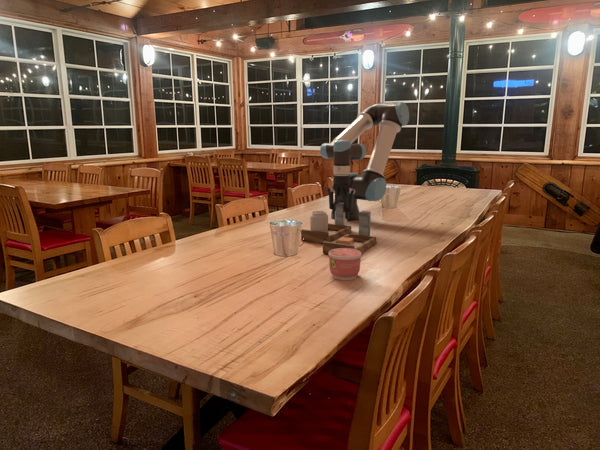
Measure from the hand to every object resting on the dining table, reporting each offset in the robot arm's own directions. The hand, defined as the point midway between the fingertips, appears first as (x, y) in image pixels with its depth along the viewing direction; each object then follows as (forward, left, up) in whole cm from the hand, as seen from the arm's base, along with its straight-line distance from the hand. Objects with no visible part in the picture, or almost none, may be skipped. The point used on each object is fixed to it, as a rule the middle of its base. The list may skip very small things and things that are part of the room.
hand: (340, 224), depth 203 cm
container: (+58, +28, -2) cm, 64 cm away
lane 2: (+25, +17, -2) cm, 30 cm away
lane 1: (+12, 0, -2) cm, 12 cm away
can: (+21, 0, -2) cm, 21 cm away
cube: (+32, +17, -2) cm, 36 cm away
